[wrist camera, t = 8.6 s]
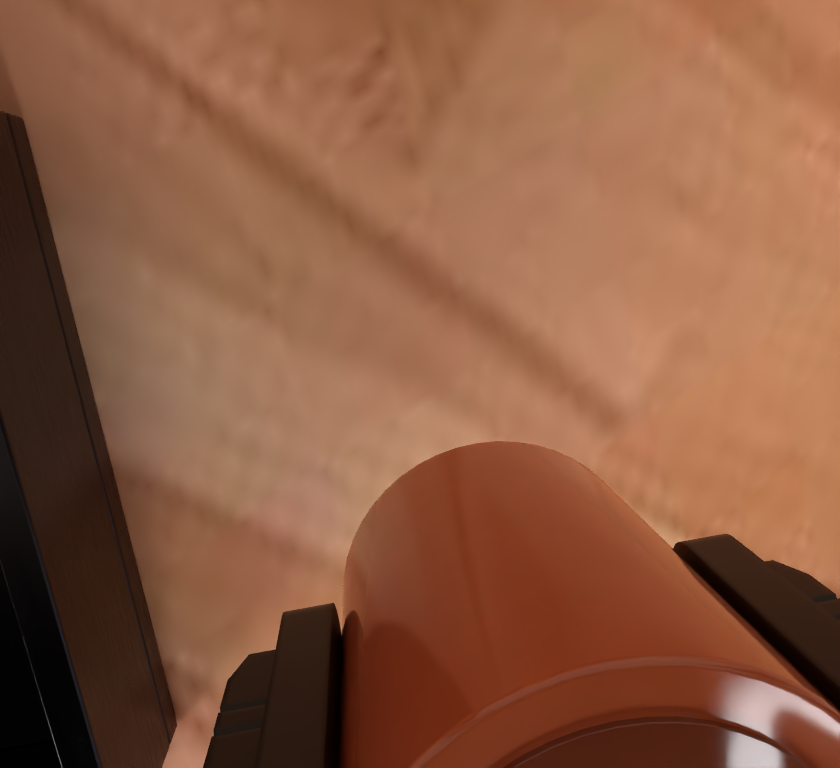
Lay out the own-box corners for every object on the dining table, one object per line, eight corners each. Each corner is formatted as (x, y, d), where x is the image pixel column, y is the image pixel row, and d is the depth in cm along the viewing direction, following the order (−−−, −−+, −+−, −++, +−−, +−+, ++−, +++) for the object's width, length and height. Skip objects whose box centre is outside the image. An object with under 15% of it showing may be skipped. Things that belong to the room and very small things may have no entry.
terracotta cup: (318, 468, 11) (280, 732, 5) (626, 416, 11) (923, 611, 5) (368, 741, 12) (383, 1218, 6) (649, 687, 12) (918, 1094, 7)
